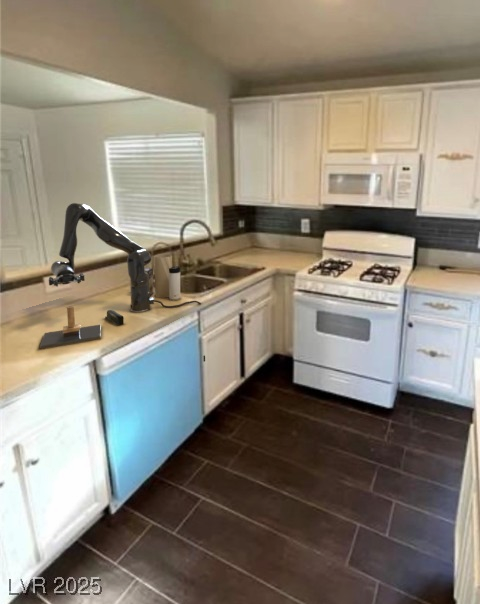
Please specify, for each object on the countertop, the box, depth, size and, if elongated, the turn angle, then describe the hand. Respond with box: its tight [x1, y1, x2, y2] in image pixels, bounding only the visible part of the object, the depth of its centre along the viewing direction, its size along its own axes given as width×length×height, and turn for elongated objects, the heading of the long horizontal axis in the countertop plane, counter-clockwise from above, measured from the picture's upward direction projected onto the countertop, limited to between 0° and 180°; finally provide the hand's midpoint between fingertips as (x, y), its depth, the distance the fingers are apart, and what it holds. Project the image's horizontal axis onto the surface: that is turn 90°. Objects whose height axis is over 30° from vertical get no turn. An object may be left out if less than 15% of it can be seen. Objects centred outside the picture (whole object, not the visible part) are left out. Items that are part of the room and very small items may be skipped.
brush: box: [62, 305, 81, 337], centre depth 159 cm, size 6×4×13 cm
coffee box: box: [144, 267, 154, 296], centre depth 219 cm, size 9×6×16 cm
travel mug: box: [168, 266, 181, 301], centre depth 213 cm, size 6×7×20 cm
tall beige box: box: [153, 253, 173, 299], centre depth 219 cm, size 10×10×25 cm
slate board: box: [39, 324, 102, 350], centre depth 160 cm, size 22×14×2 cm, turn 119°
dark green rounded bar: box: [104, 309, 125, 326], centre depth 179 cm, size 5×3×15 cm
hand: (68, 282), depth 166 cm, fingers open, 8 cm apart
